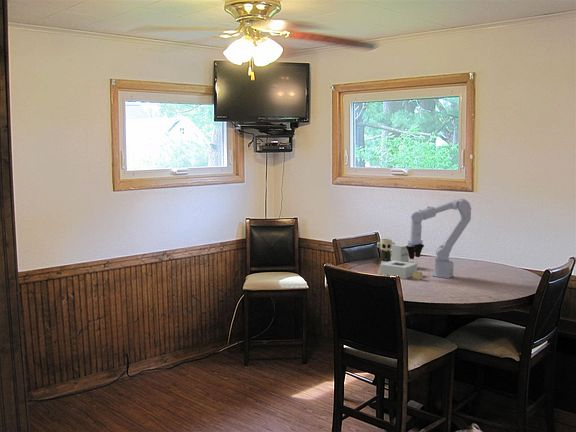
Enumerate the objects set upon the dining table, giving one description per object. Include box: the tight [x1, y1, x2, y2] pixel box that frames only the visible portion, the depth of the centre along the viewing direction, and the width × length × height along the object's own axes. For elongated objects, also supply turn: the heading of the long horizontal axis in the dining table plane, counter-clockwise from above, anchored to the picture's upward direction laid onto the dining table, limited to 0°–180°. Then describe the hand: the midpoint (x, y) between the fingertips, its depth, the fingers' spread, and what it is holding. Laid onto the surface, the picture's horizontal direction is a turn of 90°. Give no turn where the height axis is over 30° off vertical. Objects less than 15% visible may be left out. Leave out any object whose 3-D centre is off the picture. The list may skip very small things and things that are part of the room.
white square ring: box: [379, 260, 418, 280], centre depth 343 cm, size 15×15×6 cm
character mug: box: [376, 238, 396, 261], centre depth 384 cm, size 11×7×13 cm, turn 87°
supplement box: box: [390, 243, 410, 262], centre depth 366 cm, size 7×7×13 cm
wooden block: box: [412, 270, 423, 281], centre depth 332 cm, size 4×3×4 cm
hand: (414, 258), depth 342 cm, fingers open, 7 cm apart
